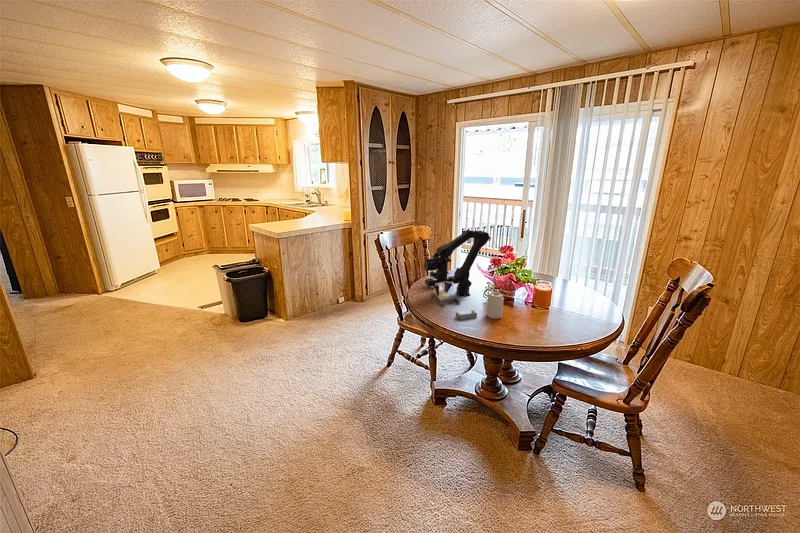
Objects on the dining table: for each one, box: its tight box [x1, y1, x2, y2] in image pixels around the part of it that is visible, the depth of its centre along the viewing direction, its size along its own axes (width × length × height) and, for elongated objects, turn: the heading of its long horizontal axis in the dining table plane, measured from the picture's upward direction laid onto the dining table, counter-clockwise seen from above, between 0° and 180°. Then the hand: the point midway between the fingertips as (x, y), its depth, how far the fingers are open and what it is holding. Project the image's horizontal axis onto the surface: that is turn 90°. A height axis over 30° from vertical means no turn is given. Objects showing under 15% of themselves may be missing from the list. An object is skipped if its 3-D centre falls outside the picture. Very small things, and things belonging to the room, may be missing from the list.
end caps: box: [439, 297, 478, 321], centre depth 172 cm, size 10×22×2 cm, turn 18°
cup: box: [427, 269, 444, 288], centre depth 208 cm, size 10×10×10 cm
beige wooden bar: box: [433, 286, 450, 301], centre depth 190 cm, size 4×16×4 cm, turn 11°
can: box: [486, 291, 505, 320], centre depth 164 cm, size 8×8×12 cm
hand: (441, 295), depth 190 cm, fingers open, 4 cm apart
